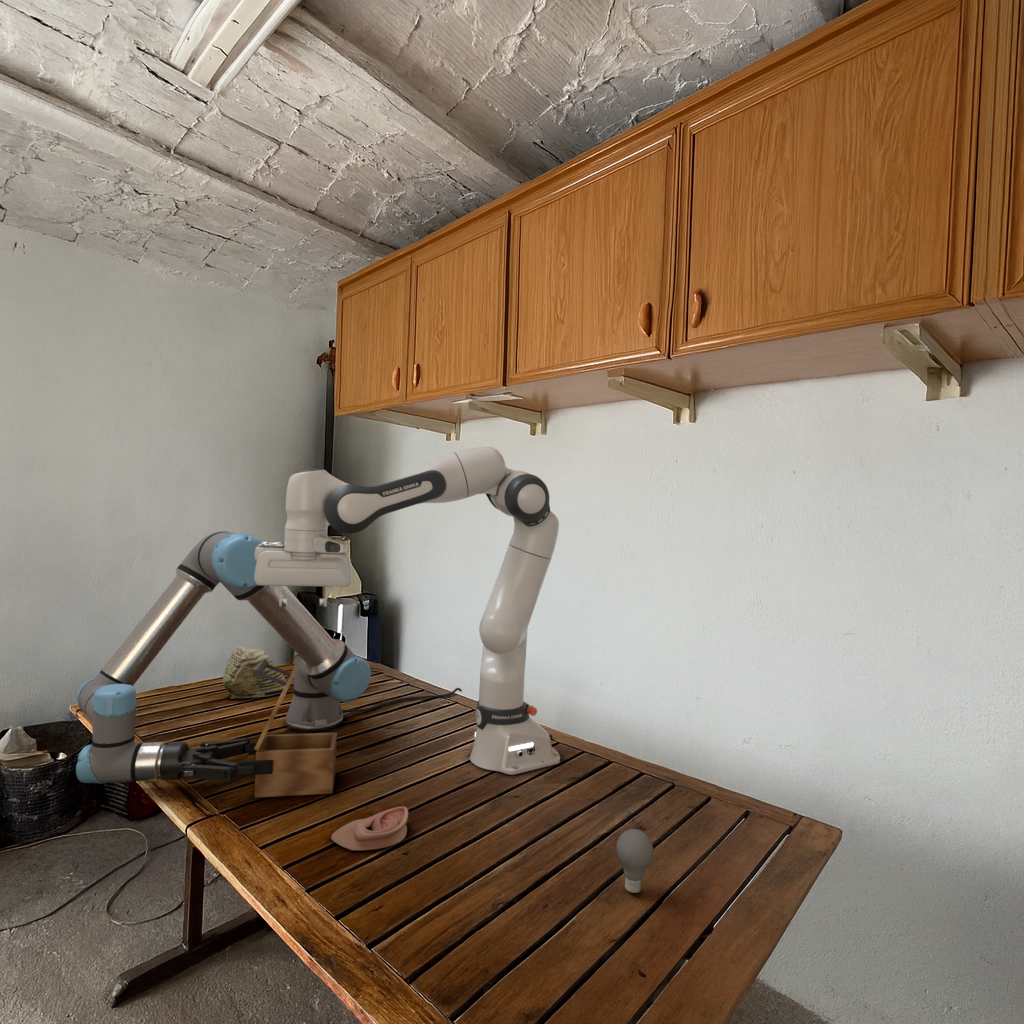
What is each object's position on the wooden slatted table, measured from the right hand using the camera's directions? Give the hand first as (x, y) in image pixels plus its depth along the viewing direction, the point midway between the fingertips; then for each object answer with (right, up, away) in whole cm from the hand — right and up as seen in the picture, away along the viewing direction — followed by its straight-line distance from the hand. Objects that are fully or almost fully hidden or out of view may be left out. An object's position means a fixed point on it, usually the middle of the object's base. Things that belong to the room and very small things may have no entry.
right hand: (303, 606), depth 138 cm
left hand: (-6, -33, 0) cm, 33 cm away
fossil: (-35, -37, +60) cm, 79 cm away
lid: (-5, -22, 0) cm, 22 cm away
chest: (-2, -39, +1) cm, 39 cm away
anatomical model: (+19, -41, -19) cm, 48 cm away
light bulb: (+66, -43, -32) cm, 85 cm away
